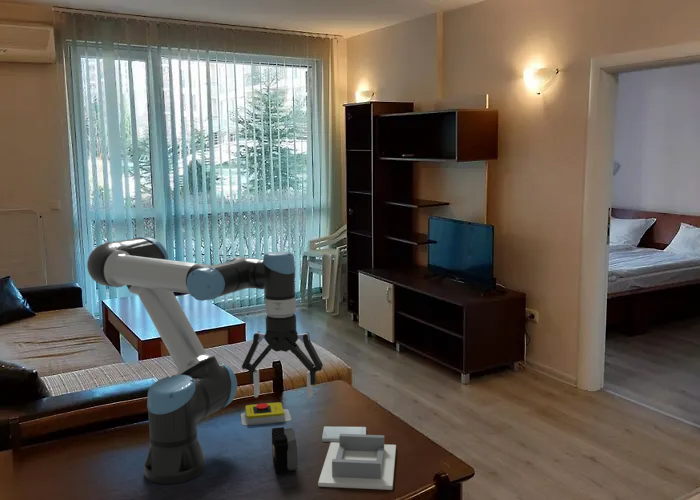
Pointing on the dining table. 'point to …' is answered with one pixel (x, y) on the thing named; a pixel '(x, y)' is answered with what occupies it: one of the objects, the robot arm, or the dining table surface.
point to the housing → (359, 463)
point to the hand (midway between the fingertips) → (283, 396)
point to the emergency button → (265, 414)
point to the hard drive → (340, 432)
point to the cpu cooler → (284, 450)
